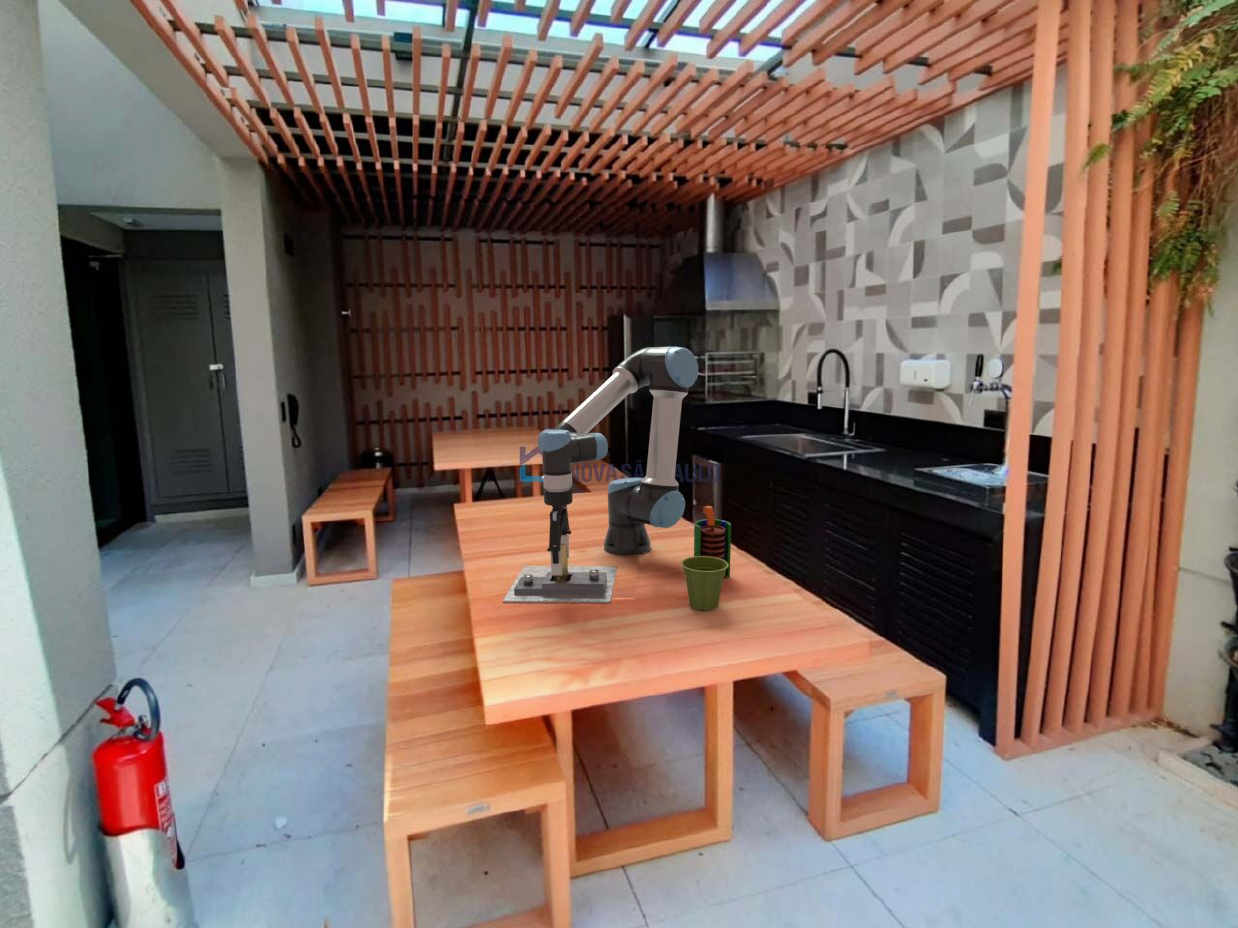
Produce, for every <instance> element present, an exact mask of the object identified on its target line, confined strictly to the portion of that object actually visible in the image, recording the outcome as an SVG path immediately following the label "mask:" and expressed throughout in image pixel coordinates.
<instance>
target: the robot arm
mask: <svg viewBox="0 0 1238 928" xmlns="http://www.w3.org/2000/svg"><path fill="white" fill-rule="evenodd" d="M698 376H699V364H698V360H697V358H696V356H694V354H693V352H692V351H691V350H689V349H688V348H686V347H680V346H658V347H655V346H647V347H645V348H644V347H643V348H642V349H641V348H640V349H639V350H637V351H635V352H633V353H631V354H630V355H629V356H627V358H625V359H623V360H622V361H621V362H620V363H619V364H618V365H617V366H616V367H615V368H613V370H612V375H611V376H610V377H608V379H607V380H606V381H604V383H602V384H601V385H600V386H599V387H598V388H597V389H596V390H595V391H593V393H591V394H590V395H589V396H588V397H587V398H586V399H585V400H583V402H581V404H579V406H578V407H576V408H575V409H574V410H573V411H572V412H571V413H570V414H569V415H568V416H566V417H565V418H564V419H563V420H562V421H561V422H560V423H559V424H558V425H557V426H555V427H554V428H546V429H544V430H542V431H541V432H540V433H539V435H538V438H537V447H538V449H539V450H540V452H541V458H542V473H543V475H542V476H541V477H540V480H542V481H543V489H544V490H543V503H544V505H546V506H551V507H552V509H551V511H550V512H549V534H548V535H549V537H548V538H549V539H548V541H549V542H548V547H547V552H550V566H551V575H562V557H561V548H560V546H561V544H566V545H567V555H568V559H570V541H569V540H570V539H569V538H570V537H569V535H571V534H572V530H570V523H569V522H570V521H569V516H568V515H569V514H568V505H570V504H572V503H573V489H572V487H573V472H572V471H573V470H572V469H573V468H572V465H575V464H581V463H583V464H584V463H588V462H596V461H599V460H603V459H604V458H605V457H606V456H607V454H608V451H609V450H608V449H609V448H608V447H609V446H608V440H607V439H606V438H607V437H605V435H603V433H600V432H590V431H591V430H593V428H595V426H596V425H597V424H599V422H601V421H602V420H603V419H604V418H605V417H606V416H607V415H608V414H609V413H610V412H612V410H613V409H614V408H615V407H617V405H619V404H620V403H621V402H622V401H623V400H624V399H625V398H626V397H627V396H628V395H629V394H634V393H636V392H637V391H638V390H639V389H640V388H643V387H646V386H649V389H648V390H649V392H650V394H651V395H652V397H653V401H652V412H651V422H650V432H649V442H648V443H649V444H648V454H647V464H646V472H645V473H646V475H645V477H628V478H627V477H625V478H621V479H615V480H612V481H610V482H609V484H608V486H607V490H608V491H607V512H608V528H607V531H606V534H605V538H604V541H603V550H604V552H606V553H609V554H611V555H616V556H617V555H619V556H635V555H643V554H646V553H648V552H650V550H651V545H652V543H651V540H650V537H649V534H648V530H647V528H646V525H648V526H652V527H654V528H659V529H660V528H661V529H668V528H672V527H674V526H675V525H676V524H677V523H678V521H680V520H681V518H682V516H683V515H684V512H685V507H686V500H685V498H684V495H683V494H682V493H681V492H680V491H679V487H680V486H679V485H680V484H679V482H678V481H677V480H676V478H675V476H676V467H677V466H676V463H677V456H678V455H677V454H678V445H679V435H680V425H681V415H682V404H683V403H682V402H683V400H684V398H685V397H686V396H687V395H688V394H689V388H690V387H692V386H694V384H695V382H696V381H697V379H698ZM589 432H590V433H589Z"/></svg>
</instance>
